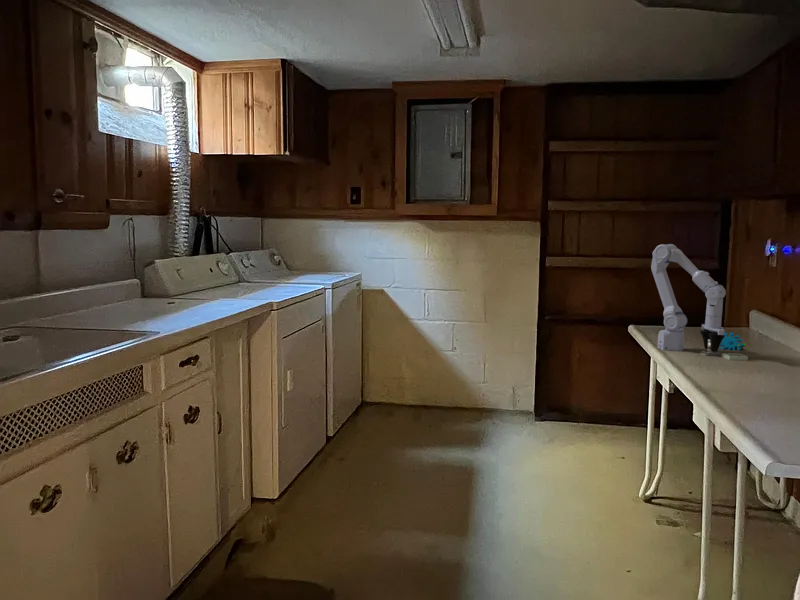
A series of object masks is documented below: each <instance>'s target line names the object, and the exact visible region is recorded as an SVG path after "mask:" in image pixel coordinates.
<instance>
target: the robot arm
mask: <svg viewBox="0 0 800 600" xmlns="http://www.w3.org/2000/svg"><path fill="white" fill-rule="evenodd" d="M670 262H673V263H677V264H678V265H679V266H680V267H681V268H682V269H684V271H686V272H687V273H688V274H690V276H691V277H692V279H691V280H692V281H693V283H694V284H695V285H696V286H697V287H698V288H699V289H700V290H701V291H702V293H704V294H705V295H704V296H705V297H706V299H707V300H706V309H705V318H704V319H705V320H704V323H701V330H700V331H699V332H700V335H701V337H702V340H703V345H704V349H706V350H707V346H708V339H710V342H711V351H712V352H718V351H719V349H720V348H719V347H720V346H719V345H720V344H722V343H721V341H722V339H723V338H725V335H724V333H725V329H724V327H723V326H722V319H723V318H722V317H723V307H724V305H723V304H724V298H725V296H726V295H727V293H726V292H727V291H726V289H725V288H724V286H723V285H722V284H719V282H718V281H715V280H714V279H713V278H712V277H711V276H710V273H709V271H705V270H699V269H698V268H697V267H696V265H695V264H693V262H692V261H691V260H690V259H689V258H688V257H687V255H685V254H684V253H683V251H682V250H681V249H679V248H678V247H677V245H675V244H673V243H668V244H664V243H663V244H662V243H661V244H659V245H657V246H656V247H655V249H654V250H653V251H652V259H651V266H650V269H651V273H652V276H653V278H654V281H655V285H656V288H657V290H658V294H659V298H660V300H661V303H662V306H663V308H664V310H663V312H662V313H663V314H662V316H663V325H664V327H665V329H661V330H659V331H658V334H657V348H658V349H660V350H661V351H671V352H672V351H674V352H681V351H684V341H685V327H686V325H687V324H688V318H687V316H686V314H684V313H683V310H682V308H681V307H680V306H679V304H678V302H677V299H676V296H675V292H674V289H673V287H672V284H671V282H670V278H669V276H668V272H667V267H668V265H669V264H670Z"/></svg>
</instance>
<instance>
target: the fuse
mask: <svg viewBox="0 0 800 600" xmlns="http://www.w3.org/2000/svg"><path fill="white" fill-rule="evenodd" d="M706 351H707V352H708V353H714V352H712V351H711V342H710V339H708V346H707V349H706Z"/></svg>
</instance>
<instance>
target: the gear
mask: <svg viewBox="0 0 800 600" xmlns="http://www.w3.org/2000/svg"><path fill="white" fill-rule="evenodd" d="M724 335H725V337H724V338H723V339H722V341H721V343H720V345H719V347H720V348H719V349H720V350H727V351H730V350H731V349H732V351H741V350H744V348H746V346H747V344H746V343H745V342H744V343H743V338H740V335H738V334H735V336H734V332H730V333H729V336H728V332H724Z"/></svg>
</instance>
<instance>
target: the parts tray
mask: <svg viewBox="0 0 800 600" xmlns="http://www.w3.org/2000/svg"><path fill="white" fill-rule="evenodd" d="M721 355H722V356H721V358H724V359H725V360H729V361H748V359H749V357H748V356H746V355H745V354H741V353H734V352H733V353H729V352H728V353H724V352H722V353H721Z"/></svg>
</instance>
